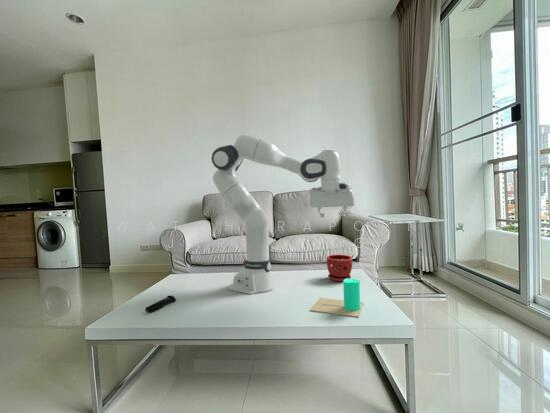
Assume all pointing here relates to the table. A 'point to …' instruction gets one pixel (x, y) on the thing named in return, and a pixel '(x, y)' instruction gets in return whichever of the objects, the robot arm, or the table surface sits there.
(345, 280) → the candle
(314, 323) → the table surface
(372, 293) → the table surface
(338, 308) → the tan flat wooden board
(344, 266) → the plant pot
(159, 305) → the electric trimmer
